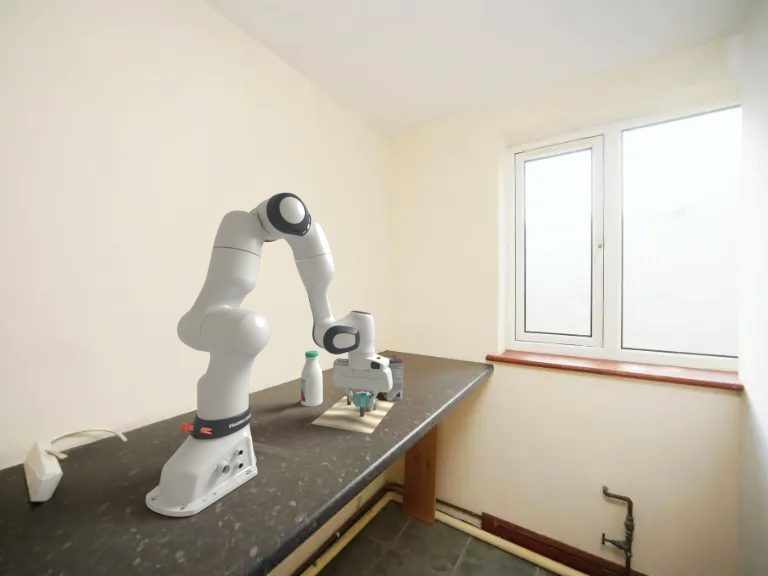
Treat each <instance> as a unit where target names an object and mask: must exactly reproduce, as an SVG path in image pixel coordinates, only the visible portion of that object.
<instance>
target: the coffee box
mask: <svg viewBox="0 0 768 576" xmlns="http://www.w3.org/2000/svg"><path fill="white" fill-rule="evenodd" d="M381 356H382V357H385V358H387V359H389V365H388V367H389V368H390V369H391V373H392V381H393V386H392V389H391V390H390V391H389V392H380V394H382V396H383V397H384V399H385V401H388V402H392V401H398V400H403V399H404V360H402V359H401V358H400V357H398V355H381Z"/></svg>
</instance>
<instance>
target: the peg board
mask: <svg viewBox="0 0 768 576" xmlns="http://www.w3.org/2000/svg"><path fill="white" fill-rule="evenodd" d="M369 394H371V395H372V393H371V392H369ZM394 404H395V401H387V400H380V399H378V408H377V410H372V411H371V412H370V411H364V407H361V406H357V407H356V406H355V404H353V401H349V396H348V394H347V393H346V395H344V396H343V397H342V398H341V399H340V400H338V401H337V402H336V403H335V404H333V405H332V406H331V407H330V408H328V409H327V410H326V411H324V412H323V413H322V414H320V416H318V417H317V418H316V419H314V420H313V421H312V422H311V423H310V424H311V425H316V426H322V427H328V428H335V429H339V430H346V431H351V432H357V433H364V434H368V435H372V433H373V432H374V431H375V430H376V428H377V427H378V426H379V424H380V423H381V422H382V420H383V419H384V418H385V417H386V415H387V413H388V412H389V411H390V409H392V407H393V406H394Z"/></svg>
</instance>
